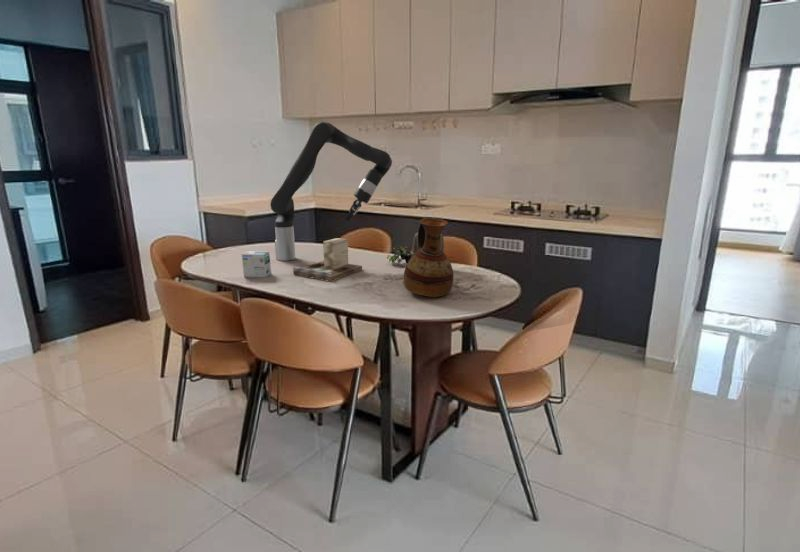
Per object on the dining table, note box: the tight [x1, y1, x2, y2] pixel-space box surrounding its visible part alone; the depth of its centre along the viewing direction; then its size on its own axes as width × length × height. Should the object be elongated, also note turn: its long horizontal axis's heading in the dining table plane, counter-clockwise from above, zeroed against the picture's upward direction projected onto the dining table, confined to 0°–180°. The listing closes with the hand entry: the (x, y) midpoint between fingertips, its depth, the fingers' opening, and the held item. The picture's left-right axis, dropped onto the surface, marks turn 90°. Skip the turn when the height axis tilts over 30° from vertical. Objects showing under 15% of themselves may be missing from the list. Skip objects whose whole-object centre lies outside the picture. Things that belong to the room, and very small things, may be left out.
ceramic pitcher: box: [403, 217, 454, 297], centre depth 182 cm, size 20×20×30 cm
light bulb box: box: [241, 250, 272, 278], centre depth 211 cm, size 11×7×11 cm, turn 84°
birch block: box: [322, 237, 349, 268], centre depth 220 cm, size 6×10×12 cm, turn 148°
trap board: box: [292, 260, 363, 282], centre depth 217 cm, size 22×23×4 cm
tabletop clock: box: [411, 216, 445, 255], centre depth 217 cm, size 14×9×25 cm, turn 83°
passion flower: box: [386, 245, 413, 267], centre depth 229 cm, size 11×11×12 cm
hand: (347, 220), depth 219 cm, fingers open, 8 cm apart
